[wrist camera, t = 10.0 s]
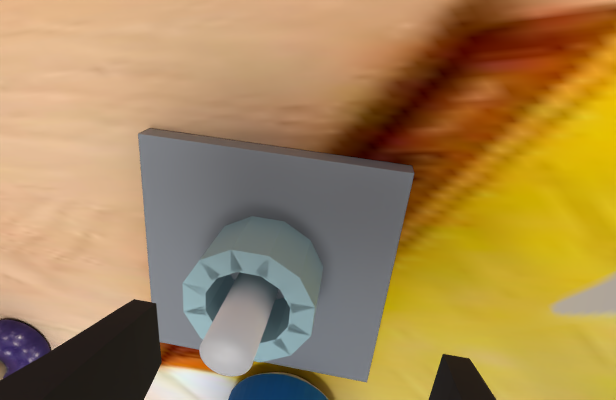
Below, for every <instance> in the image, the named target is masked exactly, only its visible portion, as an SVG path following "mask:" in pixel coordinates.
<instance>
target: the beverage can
mask: <svg viewBox="0 0 616 400" xmlns="http://www.w3.org/2000/svg"><path fill="white" fill-rule="evenodd" d="M228 400H328V398H327V397H326V396H325V395H324V394H323V393H322V392H321V391H320V390H319V389H318V388H316V387H315V386H313V385H312V384H311V383H309V382H308V381H306V380H305V379H303V378H301V377H299V376H296V375H293V374H289V373H284V372H269V373H261V374H256V375H253V376H250V377H247V378H245V379H244V380H242V381H240V382H239V383H238V384H237V385H236V386H235V387H234V389H233V390H232V392H231V394H230V396H229V399H228Z"/></svg>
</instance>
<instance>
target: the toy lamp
mask: <svg viewBox="0 0 616 400" xmlns="http://www.w3.org/2000/svg"><path fill="white" fill-rule="evenodd" d="M49 352H50V348H49V346H48V343H47V342H46V340H45V339H44V337H43V336H41V334H40V333H38V332H37V331H36V330H35V329H33V328H31V327H29V326H28V325H26V324H24V323H21V322H18V321H14V320H0V380H2V379H3V378H5V377H7V376H9V375H10V374H12V373H14V372H16V371H17V370H19V369H21V368H23V367H24V366H26V365H28V364H30V363H31V362H33V361H35V360H37V359H38V358H40V357H42V356H44V355H45V354H47V353H49Z"/></svg>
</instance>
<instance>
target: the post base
mask: <svg viewBox="0 0 616 400" xmlns="http://www.w3.org/2000/svg"><path fill="white" fill-rule="evenodd" d="M138 139H139V151H140V164H141V176H142V189H143V201H144V214H145V226H146V239H147V251H148V264H149V276H150V289H151V301H152V303H156V305H157V317H158V328H159V340H160V342H163V343H168V344H173V345H179V346H184V347H189V348H194V349H199V351H200V356H201V358H202V360H203V362H204V363H205V364H206V365H207V366H208V367H209V368H210V369H211V370H213V371H215V372H217V373H219V374H221V375H225V376H239V375H242V374H245V373H246V372H247V371H249V369H250V368H251V366H252V364H253V361H254V358H255V355H256V353H257V350H258V347H259V344H260V341H261V338H262V336H263V333H264V330H265V327H266V324H267V322H268V319H269V316H270V313H271V310H272V308H273V305H274V302H275V300H277V299H281V298H284V296H283V294H282V292H281V290H280V289H278V288H277V287H276V286H274V285H273V284H271V283H270V282H268V281H267V280H265V279H264V278H262V277H261V276H257V275H251V274H245V273H240V272H235V273H232V274H231V276H232V278H233V280H234V281H235V282H234V283H233V285H232V287H231V289H230V291H229V293H228V295H227V296H226V298H225V300H224V302H223V304H222V306H221V308H220V309H219V311H218V313H217V315H216V317H215V319H214V320H213V322H212V324H211V326H210V328H209V330H208V332H207V333H206V335H205V337H204V339H201V338H200V336H199V335H198V333H197V332H196V330H195V329H194V327H193V326H192V324H191V323H190V321H189V319H188V318H187V316H186V315H185V313H184V312H183V282H184V281H185V279H186V278H187V277H188V275H189V274H190V272H191V271H192V270H193V268H194V267H195V266H196V264H197V263H198V261H199V260H200V259H201V257H202V256H203V255H204V253H205V252H206V251H207V249H208V248H209V247H210V245H211V244H212V242H213V241H214V240H215V238H216V237H217V236H218V234H219V233H220V232H221V230H222V229H223V228H224V226H226V225H229V224H232V223H234V222H237V221H240V220H243V219H246V218H248V217H251V216H255V217H261V218H267V219H273V220H279V221H285V222H286V223H287V224H289V225H290V226H291V227H293V228H294V229H296V230H297V231H298V232H300V233H301V234H303V235H304V236H305V237H307V238H308V239H310V240H311V242H312V244H313V246H314V248H315V250H316V252H317V254H318V256H319V259H320V261H321V263H322V265H323V273H322V280H321V287H320V293H319V298H318V303H317V308H316V314H315V319H314V324H313V329H312V334H311V336H310V337H309V338H308V339H307V340H306V341H305V342H304V343H303V344H302V345H301V346H300V347H299V348H298V349H297V350H296V351H295V352H294V353H293V354H292V355H291V356H286V357H282V358H278V359H273V360H269V361H265V362H266V363H271V364H276V365H281V366H286V367H291V368H296V369H301V370H306V371H312V372H317V373H322V374H327V375H332V376H337V377H342V378H347V379H353V380H358V381H363V382H367V380H368V375H369V371H370V366H371V362H372V358H373V353H374V349H375V344H376V340H377V336H378V331H379V327H380V322H381V318H382V313H383V309H384V305H385V300H386V296H387V291H388V287H389V283H390V278H391V274H392V269H393V265H394V261H395V256H396V252H397V247H398V243H399V239H400V234H401V230H402V225H403V221H404V217H405V212H406V208H407V203H408V199H409V195H410V190H411V186H412V181H413V177H414V171H413V167H412V166H411V165H404V164H397V163H390V162H383V161H376V160H369V159H362V158H355V157H348V156H341V155H334V154H326V153H319V152H312V151H305V150H298V149H291V148H284V147H277V146H270V145H263V144H256V143H249V142H242V141H235V140H228V139H221V138H214V137H207V136H200V135H193V134H186V133H179V132H172V131H165V130H158V129H151V128H149V129H147V130H145V131H143V132H141V133H138Z"/></svg>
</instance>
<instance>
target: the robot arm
mask: <svg viewBox="0 0 616 400" xmlns="http://www.w3.org/2000/svg"><path fill="white" fill-rule="evenodd" d="M160 365H161V351H160V340H159V328H158V317H157V305H156V303H152V302H146V301H140V300H135V299H134V300H132V301H130V302H129V303H127V304H125V305H124V306H122V307H121V308H119V309H117V310H116V311H114V312H113V313H111V314H109V315H108V316H106V317H105V318H103V319H102V320H100V321H98V322H97V323H95V324H94V325H92V326H91V327H89V328H87V329H86V330H84V331H83V332H81V333H79V334H78V335H76V336H75V337H73V338H71V339H70V340H68V341H66V342H65V343H63V344H62V345H60V346H58V347H57V348H55V349H54V350H52V351H50V352H49V353H47V354H45V355H44V356H42V357H40V358H38V359H37V360H35V361H33V362H31V363H30V364H28V365H26V366H24V367H23V368H21V369H19V370H17V371H16V372H14V373H12V374H10V375H9V376H7V377H5V378H3V379H2V380H0V400H144V398H145V396H146V394H147V392H148V390H149V388H150V386H151V384H152V382H153V380H154V378H155V375H156V373H157V371H158V369H159V367H160ZM429 400H496V398H495V397H494V395H493V394H492V392H491V391H490V389H489V388H488V386H487V385H486V383H485V381H484V380H483V378H482V377H481V375H480V374H479V372H478V371H477V369H476V368H475V366H474V365H473V363H472V362H471V360H470V359H469V358H463V357H457V356H452V355H446V354H443V355H442V359H441V362H440V365H439V368H438V371H437V375H436V378H435V381H434V384H433V388H432V391H431V394H430V397H429Z"/></svg>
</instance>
